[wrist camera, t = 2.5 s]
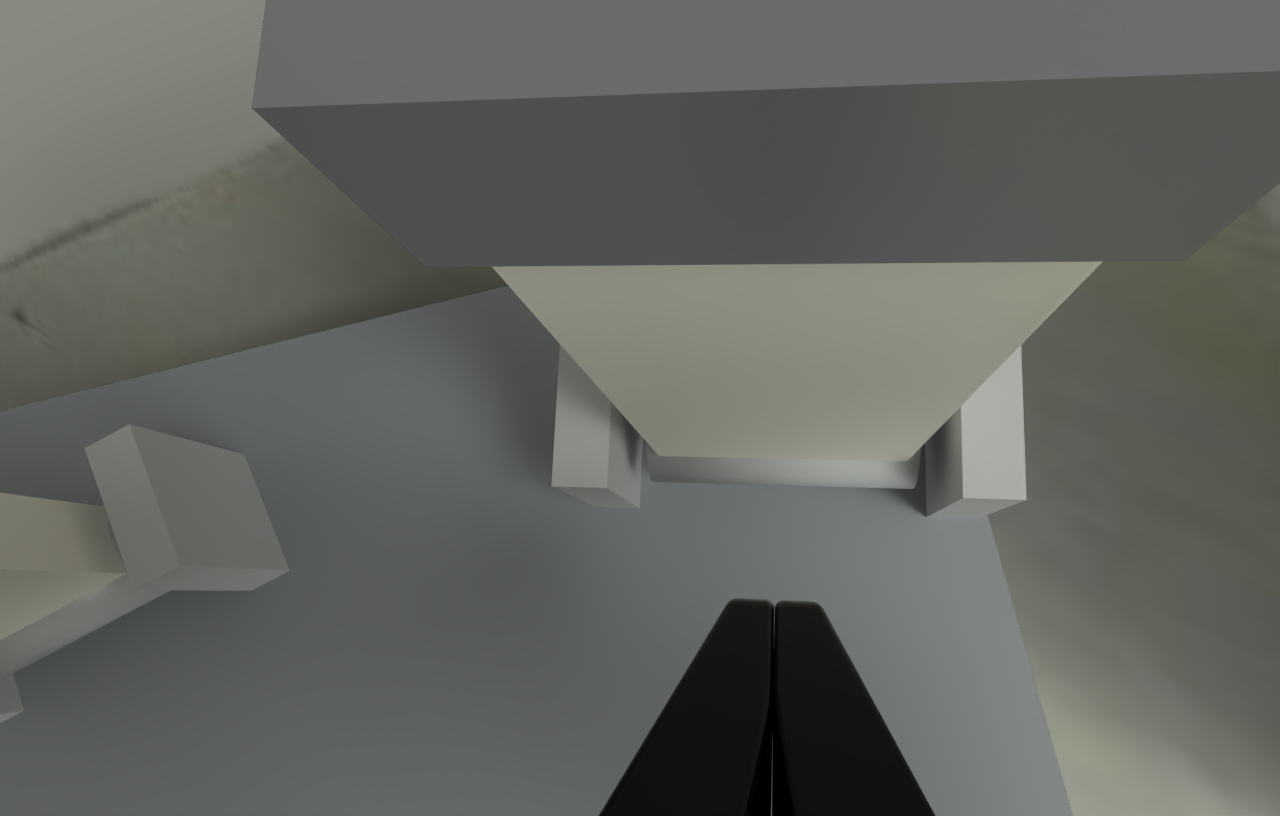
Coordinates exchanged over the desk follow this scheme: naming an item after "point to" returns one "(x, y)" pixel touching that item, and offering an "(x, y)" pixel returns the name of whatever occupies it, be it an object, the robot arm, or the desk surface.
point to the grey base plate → (477, 585)
